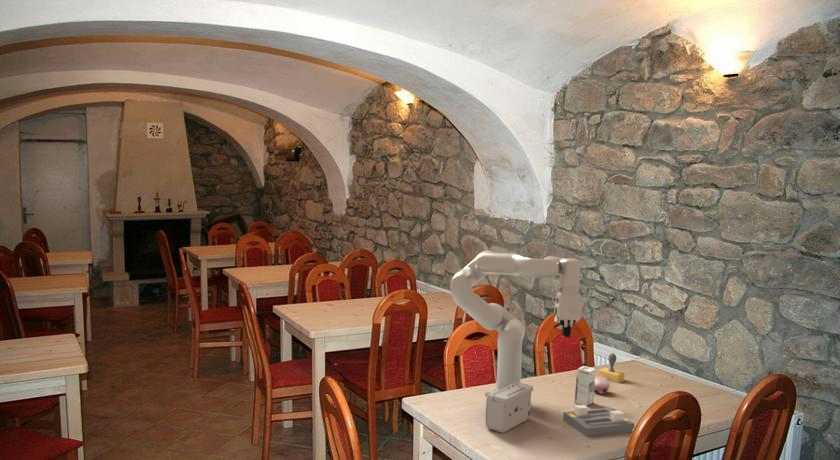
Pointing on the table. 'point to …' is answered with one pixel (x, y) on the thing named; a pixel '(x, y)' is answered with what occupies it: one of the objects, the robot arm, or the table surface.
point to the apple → (601, 384)
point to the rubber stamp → (612, 371)
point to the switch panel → (597, 423)
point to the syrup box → (585, 385)
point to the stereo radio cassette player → (508, 406)
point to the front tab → (616, 415)
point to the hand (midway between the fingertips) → (566, 336)
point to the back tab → (580, 410)
